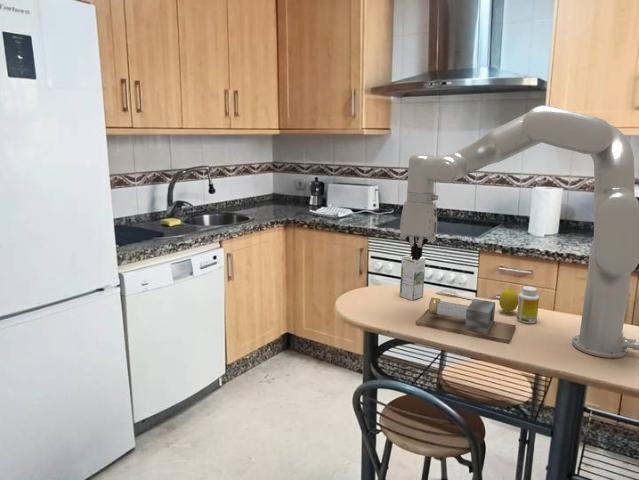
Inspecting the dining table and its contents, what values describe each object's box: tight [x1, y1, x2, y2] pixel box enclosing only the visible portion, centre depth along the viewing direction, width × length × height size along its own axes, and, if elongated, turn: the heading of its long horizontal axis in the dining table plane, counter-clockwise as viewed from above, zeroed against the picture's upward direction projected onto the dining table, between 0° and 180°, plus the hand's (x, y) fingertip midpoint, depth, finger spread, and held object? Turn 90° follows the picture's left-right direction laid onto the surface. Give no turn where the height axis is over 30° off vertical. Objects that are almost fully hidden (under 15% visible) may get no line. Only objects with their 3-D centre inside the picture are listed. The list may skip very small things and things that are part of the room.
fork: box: [435, 289, 487, 301], centre depth 168 cm, size 3×21×3 cm, turn 57°
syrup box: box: [399, 254, 426, 301], centre depth 167 cm, size 6×6×14 cm
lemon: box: [499, 288, 519, 314], centre depth 154 cm, size 6×6×8 cm
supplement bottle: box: [516, 286, 540, 324], centre depth 148 cm, size 6×6×10 cm
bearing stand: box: [415, 298, 517, 344], centre depth 143 cm, size 26×12×7 cm, turn 61°
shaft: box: [428, 297, 469, 319], centre depth 145 cm, size 12×5×5 cm, turn 61°
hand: (416, 258), depth 147 cm, fingers closed
